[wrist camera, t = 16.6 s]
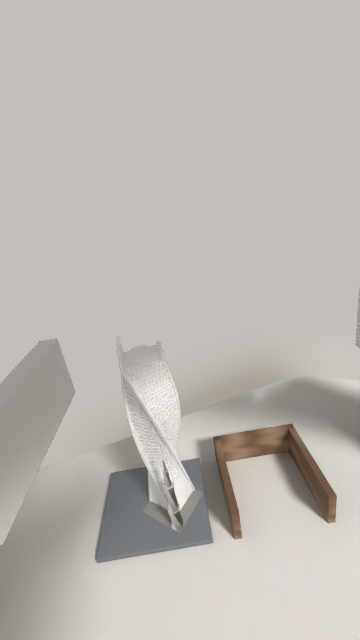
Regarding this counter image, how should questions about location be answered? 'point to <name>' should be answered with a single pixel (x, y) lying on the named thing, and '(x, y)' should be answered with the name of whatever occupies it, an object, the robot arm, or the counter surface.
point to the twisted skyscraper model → (157, 433)
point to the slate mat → (147, 518)
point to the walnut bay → (267, 444)
